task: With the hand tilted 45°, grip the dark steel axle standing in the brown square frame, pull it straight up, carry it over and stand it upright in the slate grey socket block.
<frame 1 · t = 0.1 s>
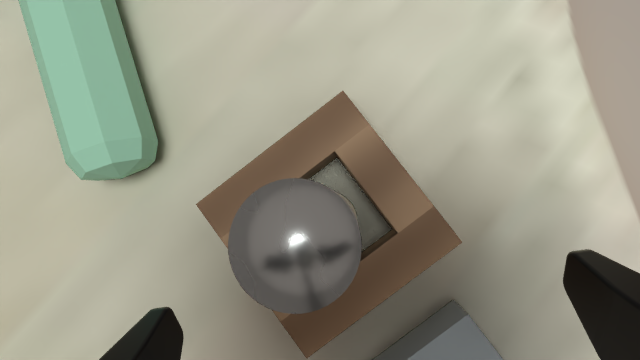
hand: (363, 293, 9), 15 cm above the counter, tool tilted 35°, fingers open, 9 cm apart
axle: (318, 227, 17), in the brown square frame
green faceted rod: (90, 2, 27), on the counter
brown square frame: (328, 220, 24), on the counter
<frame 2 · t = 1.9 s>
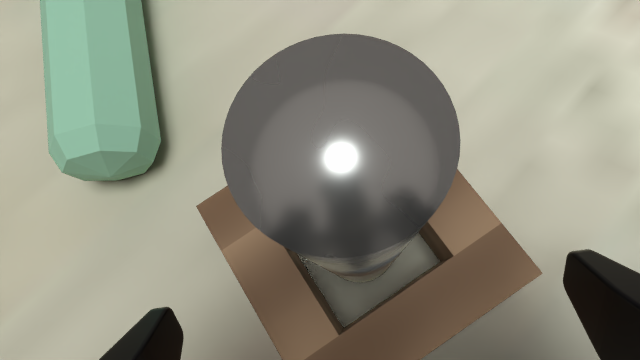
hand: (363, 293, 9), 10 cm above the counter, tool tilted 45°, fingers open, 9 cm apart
axle: (353, 220, 12), in the brown square frame
green faceted rod: (116, 4, 25), on the counter
brown square frame: (358, 245, 19), on the counter
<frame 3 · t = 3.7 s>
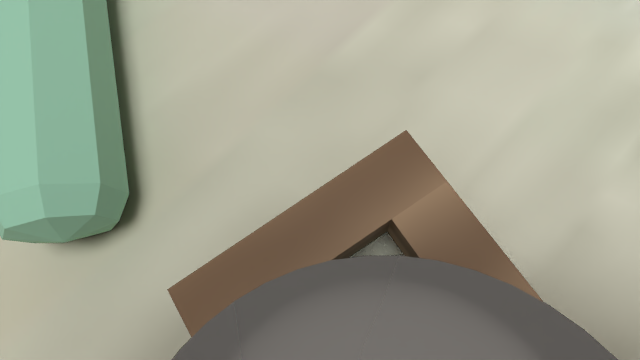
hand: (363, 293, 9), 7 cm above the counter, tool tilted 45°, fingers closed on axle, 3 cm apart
axle: (373, 358, 9), in the brown square frame, touching gripper
green faceted rod: (83, 21, 22), on the counter
brown square frame: (371, 327, 16), on the counter
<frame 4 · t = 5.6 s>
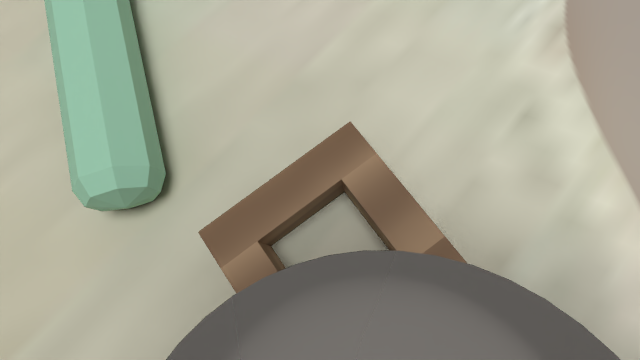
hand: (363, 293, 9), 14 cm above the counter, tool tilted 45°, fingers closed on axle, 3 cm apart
axle: (373, 356, 9), point 14 cm above the counter, touching gripper
green faceted rod: (116, 50, 29), on the counter
brown square frame: (334, 256, 23), on the counter
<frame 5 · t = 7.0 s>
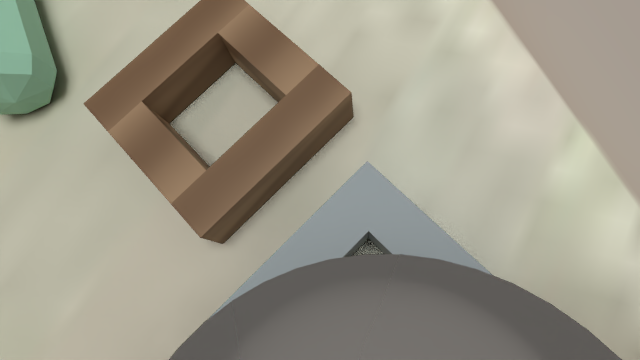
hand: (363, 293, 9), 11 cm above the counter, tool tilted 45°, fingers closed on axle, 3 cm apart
axle: (373, 358, 9), point 11 cm above the counter, touching gripper
socket block: (369, 316, 20), on the counter
brown square frame: (231, 121, 23), on the counter
when the fingers open (8 cm above the counter, at t = 7.9 s): axle drops 1 cm, resting in socket block.
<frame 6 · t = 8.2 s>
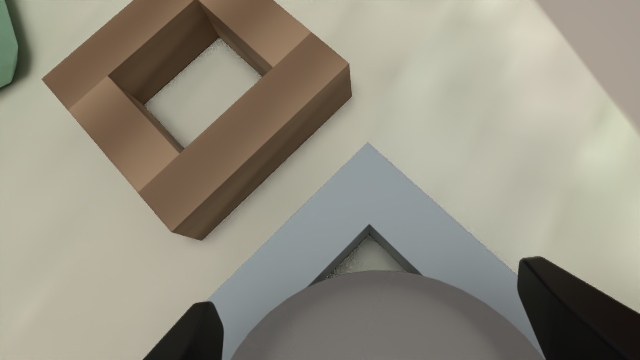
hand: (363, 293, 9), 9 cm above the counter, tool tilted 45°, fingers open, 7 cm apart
axle: (373, 350, 10), in the socket block
socket block: (370, 324, 17), on the counter
brown square frame: (213, 101, 21), on the counter
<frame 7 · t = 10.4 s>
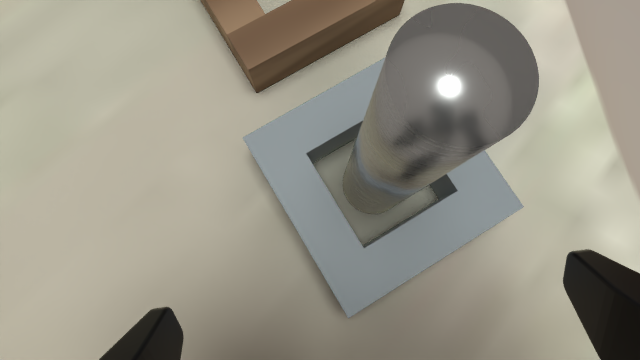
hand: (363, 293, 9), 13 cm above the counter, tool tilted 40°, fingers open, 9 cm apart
axle: (397, 152, 16), in the socket block
socket block: (372, 182, 23), on the counter
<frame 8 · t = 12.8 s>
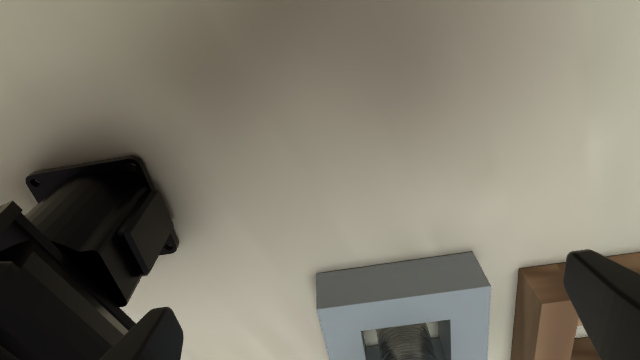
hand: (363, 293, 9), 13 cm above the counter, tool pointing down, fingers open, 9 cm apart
socket block: (399, 316, 28), on the counter
brown square frame: (587, 312, 28), on the counter
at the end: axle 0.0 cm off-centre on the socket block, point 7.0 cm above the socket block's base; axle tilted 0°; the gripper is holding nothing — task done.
